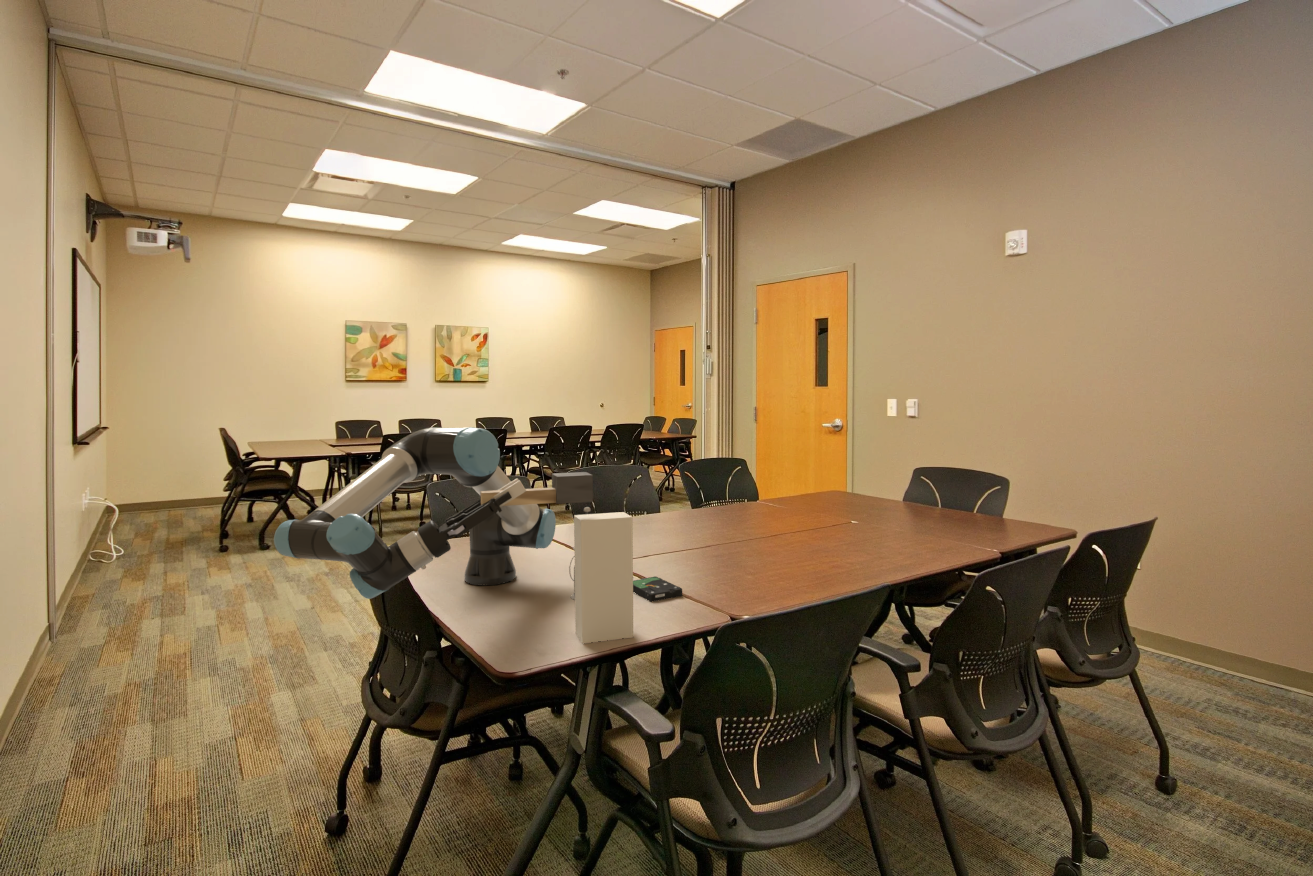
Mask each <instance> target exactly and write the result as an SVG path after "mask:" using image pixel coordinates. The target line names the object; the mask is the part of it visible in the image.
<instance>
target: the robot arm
mask: <svg viewBox="0 0 1313 876" xmlns="http://www.w3.org/2000/svg"><path fill="white" fill-rule="evenodd" d="M500 456H501V451H500V448H499V443H498V440H497V439H496V437H495V435H494V434H493V433H491V432H490V431H489V430H487V429H485V428H480V427H479V428H478V427H474V426H473V427H471V426H469V427H436V426H435V427H434V426H433V427H426V428H422V429H419V430H416V431H414V432H412V433H410V434H408V435H406V436H404V437H403V438H401V439H400V440H398V441H396V442H394V443H393V444H392V445H390V446H389V447H388V448H386V449H385V450H384V451H383V453H382V455H381V458H380V459H378V460H377V462H375V463H374V464H373V465H372V466H370V467H369V468H368V469H366V470H364V471H363V473H361V474H360V475H359V476H357V477H356V478H355V479H353V480H351V482H349V483H348V484H347V485H345V486H344V487H343V488H342V489H340V490H339V491H338V492H337V493H336V494H334V495H333V496H331V497H330V498H329V499H328V500H326V501H325V502H323V503H322V504H321V505H319V506H318V507H317V508H315V510H313V511H312V512H310V513H309V514H308V515H307V516H305V517H304V518H302V519H288V520H286V521H283V522H282V523H281V524H279V526H278V527H277V528H276V530H275V533H274V536H273V544H274V546H275V550H276V551H277V552H278V553H279V554H280V555H281V556H283V557H289V558H293V559H307V560H321V561H322V560H323V561H331V562H332V561H333V562H343V563H344V562H345V563H347V564H348V565H350V566H351V569H350V570H349V578H350V581H351V583H352V584H353V586H354V588H355V589H356V590H357V592H358V593H359V595H361V596H362V597H363V598H364V599H368V600H369V599H373V598H376V597H377V596H379V595H381V594H382V593H385V592H387V591H389V590H390V589H391V588H393V587H394V586H395V585H397V584H399V583H400V582H401V581H404V580H405V579H407V578H408V577H409V576H411V575H413V574H415V573H416V572H417V571H418V570H420V569H421V570H425V569H426V568H427V566H426V565H428V564H430V563H431V562H433V561H434V558H437V559H438V558H441V556H443V555H445V554H446V553H448V552H449V551H451V548H452V547H451V545H450V543H449V540H451V539H453V538H454V537H455V538H456V539H457V538H461V537H462V536H463V535H465V534H466V533H467V532H468V533H469V558H468V561H467V564H466V567H465V571H464V582H465V581H466V582H468V583H467V584H469V583H470V585H472V586H473V585H474V586H495V585H500V584H499V583H502V584H505V583H504V582H506V583H509V582H508V581H510V582H512V581H514V580H515V579H516V578H517V570H516V568H515V565H514V561H513V559H512V556H511V551H510V550H511V549H510V547H511V548H515V547H517V548H528V549H536V550H538V549H547V548H549V546H550V545H551V544H552V542H553V540H554V537H555V532H556V525H557V523H556V522H557V521H556V515H555V512H554V510H552V509H551V508H550V509H549V508H547V507H546V508H541V507H540V506H539V504H526V505H509V506H503V505H505V504H507V503H508V502H510V501H511V500H513V499H515V498H516V497H518V496H519V495H521V494H523V493H524V492H526V489H527V488H525V486H524V485H523V483H522V481H521V480H520V479H519V478H515V479H514V480H512V481H511V480H510V478H509V477H508V475H506V473H505V472H504V471H503V470H502V468H500V466H499V463H500V458H501V457H500ZM424 475H449V476H452V477H453V478H454V479H456V481H457V482H458V483H459V484H460V485H461V486H464V487H467V488H472V489H473V490H474V491H475V492H476V494H478V495H479V496H480V491H496V490H503V491H501V492H500V493H498V494H497V495H495V496H494V498H495V499H494V498H492V499H490V500H489V501H487V502H486V503H484V504H482V505H481V498H479V499H478V500H476V501H475V502H473V503H471V504H470V505H468V506H466V507H464V508H463V509H462V510H461V509H460V511H458V512H456V513H454V514H452V515H450V516H449V517H446V519H445V522H444V523H443V524H441V525H440V526H438V524H437V523H436V521H434V520H429V521H427V522H426V523H424V524H422V525H421V526H420V527H418V529H417V531H415V530H413V531H410V532H409V533H407V534H406V535H404V536H403V537H401V538H399V539H398V540H396V541H394V542H393V543H392V544H390V545H387V543H385V541H384V540H383V539H382V538H381V536H379V534H378V533H377V532H376V531H375V529H374V527H373V526H372V525H371V524H370V523H369V522H368V521H367V520H366V519H364V518H363V517H365V516H366V515H367V514H368V513H369V512H370V511H372V510H373V509H374V508H375V507H376V506H377V505H379V504H381V502H382V501H383V500H385V499H386V498H387V497H388V496H389V495H391V494H392V493H393V492H394V491H395V490H397V489H398V488H399V487H400V486H401V485H402V484H404V483H406V484H407V483H410V482H412V481H414V480H415V479H416V478H418V477H419V476H424ZM515 577H516V578H515ZM514 578H515V579H514ZM513 579H514V580H513ZM511 580H512V581H511ZM466 582H465V583H466Z"/></svg>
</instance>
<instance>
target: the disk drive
mask: <svg viewBox="0 0 1313 876" xmlns="http://www.w3.org/2000/svg"><path fill="white" fill-rule="evenodd" d="M633 592H635V593H636V594H635V593H634V594H635V595H637V594H638V595H637V596H639V597H640V598H643V599H645V600H646V599H647V600H646V601H648V600H649V602H651V603H653V602H658V600H659V601H664V600H669V599H674V598H681V597H683V588H682V587H680V586H677V585H675V584H673V583H671V582H670V581H667V580H665V579H663V578H661V577H659V576H649V577H644V578H640V579H636V580H634V579H633ZM652 601H653V602H652Z"/></svg>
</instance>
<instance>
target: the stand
mask: <svg viewBox="0 0 1313 876" xmlns="http://www.w3.org/2000/svg"><path fill="white" fill-rule="evenodd" d="M633 523H634V522H633V516H631V515H629V514H628V513H626V512H624V511H622V512H619V511H618V512H616V511H615V512H603V513H588V514H587V513H585V514H574V515H573V528H574V529H573V532H574V533H573V536H574V537H573V538H574V539H573V541H574V545H573V547H574V550H573V551H574V556H575V557H574V565H575V600H574V608H575V609H574V610H575V611H574V612H575V613H574V614H575V615H574V619H575V621H574V623H575V634H576V636H577V638H578V639H579V641H580V643H581V644H583V643H585V644H591V642H593V643H599V642H598V641H601V642H607V640H608V641H615V640H622V638H624V639H629V638H634V593H633V581H634V548H633V547H634V545H633V544H634V543H633V535H634V534H633V533H634V532H633V529H634V527H633ZM583 645H584V644H583Z"/></svg>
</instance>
